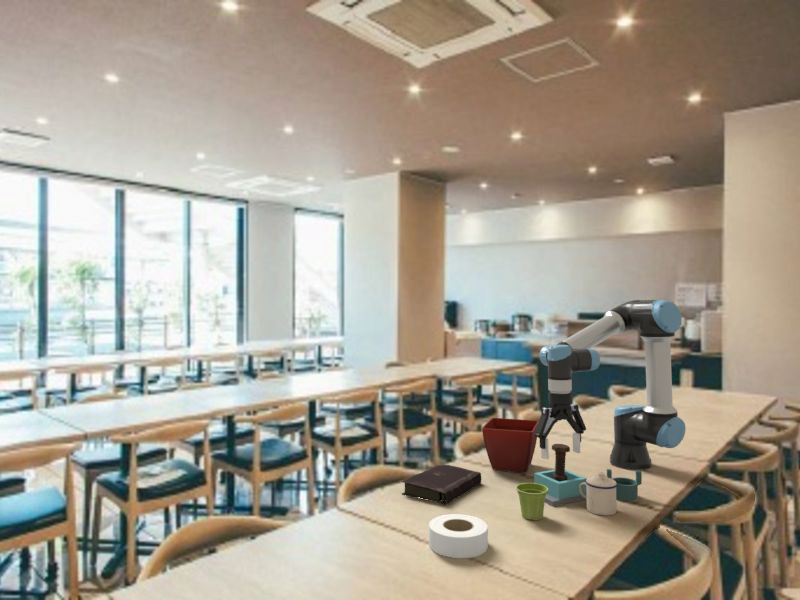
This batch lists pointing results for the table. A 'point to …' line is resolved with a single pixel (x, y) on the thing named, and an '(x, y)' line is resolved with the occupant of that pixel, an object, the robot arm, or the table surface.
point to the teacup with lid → (600, 494)
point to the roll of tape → (458, 536)
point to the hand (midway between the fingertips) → (561, 455)
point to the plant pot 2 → (532, 500)
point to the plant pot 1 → (510, 443)
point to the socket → (561, 487)
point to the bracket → (626, 486)
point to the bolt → (560, 461)
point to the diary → (441, 483)
